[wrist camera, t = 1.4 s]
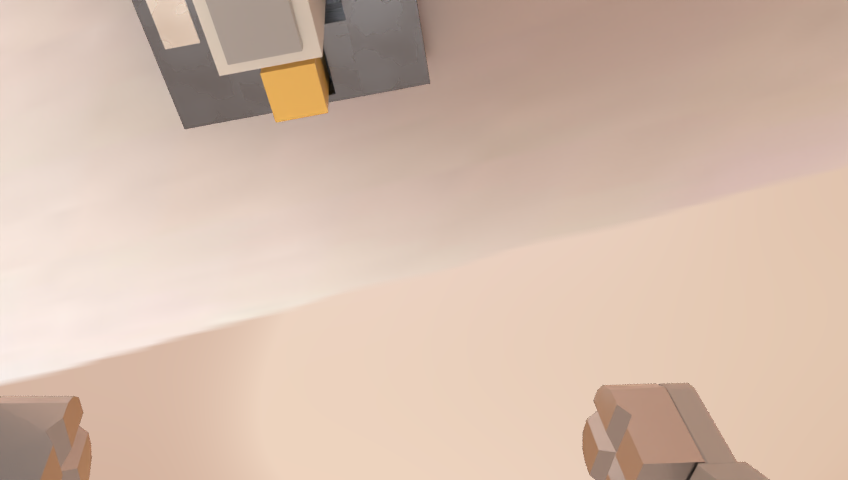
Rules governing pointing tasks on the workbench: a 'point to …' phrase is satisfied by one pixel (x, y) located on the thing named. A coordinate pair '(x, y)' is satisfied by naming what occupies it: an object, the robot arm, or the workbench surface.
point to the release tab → (297, 88)
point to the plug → (261, 32)
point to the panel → (244, 92)
